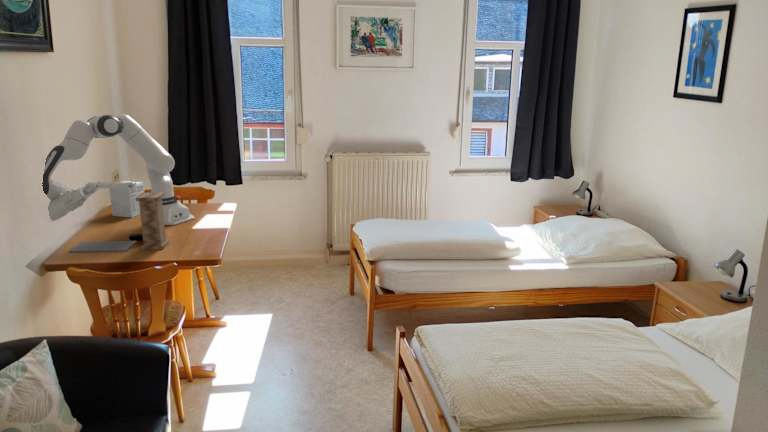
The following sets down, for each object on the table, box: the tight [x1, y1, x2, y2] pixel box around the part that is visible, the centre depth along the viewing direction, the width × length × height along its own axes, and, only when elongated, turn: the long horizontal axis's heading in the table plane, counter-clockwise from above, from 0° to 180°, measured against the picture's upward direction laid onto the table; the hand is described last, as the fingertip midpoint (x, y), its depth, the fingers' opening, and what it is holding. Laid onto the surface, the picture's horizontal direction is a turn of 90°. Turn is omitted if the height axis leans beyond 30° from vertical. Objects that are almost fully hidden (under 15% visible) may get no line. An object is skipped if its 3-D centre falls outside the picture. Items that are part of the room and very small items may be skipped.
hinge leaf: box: [85, 181, 137, 189], centre depth 282 cm, size 21×4×2 cm, turn 93°
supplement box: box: [108, 180, 145, 218], centre depth 344 cm, size 13×13×18 cm
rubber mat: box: [68, 240, 138, 253], centre depth 290 cm, size 26×14×1 cm, turn 93°
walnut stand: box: [136, 192, 170, 251], centre depth 288 cm, size 10×10×25 cm
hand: (98, 184), depth 281 cm, fingers closed on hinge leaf, 4 cm apart
